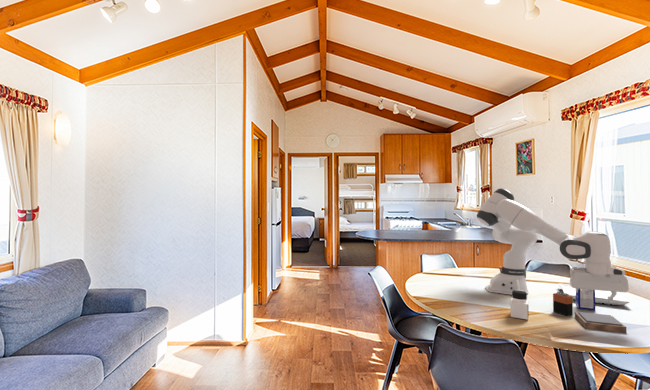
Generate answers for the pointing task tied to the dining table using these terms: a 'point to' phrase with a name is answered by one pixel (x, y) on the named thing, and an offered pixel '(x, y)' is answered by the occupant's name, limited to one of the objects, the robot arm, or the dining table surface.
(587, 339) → the dining table surface
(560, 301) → the battery
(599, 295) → the square plate
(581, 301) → the milk carton
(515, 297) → the medicine bottle
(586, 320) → the wooden square tray
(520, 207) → the robot arm
